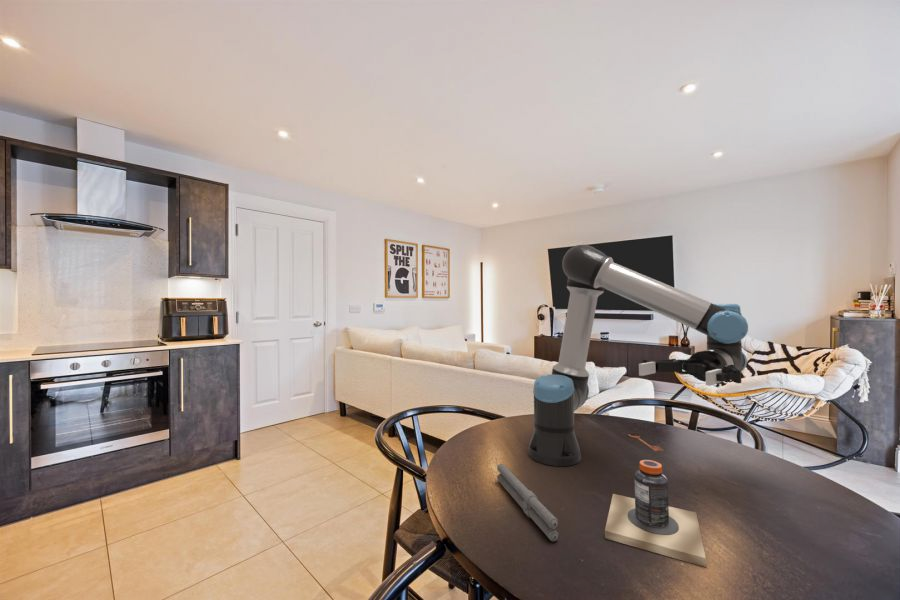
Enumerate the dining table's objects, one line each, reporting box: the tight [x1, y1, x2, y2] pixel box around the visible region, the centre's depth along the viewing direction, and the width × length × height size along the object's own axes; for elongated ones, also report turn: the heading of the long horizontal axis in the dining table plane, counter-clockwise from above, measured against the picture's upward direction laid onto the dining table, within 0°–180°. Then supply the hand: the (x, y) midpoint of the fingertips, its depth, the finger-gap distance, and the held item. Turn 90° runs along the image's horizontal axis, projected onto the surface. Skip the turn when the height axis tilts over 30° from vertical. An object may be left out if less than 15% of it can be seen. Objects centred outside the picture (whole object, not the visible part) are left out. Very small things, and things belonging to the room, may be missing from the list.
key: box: [627, 433, 664, 452], centre depth 120 cm, size 6×1×15 cm
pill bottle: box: [634, 459, 669, 527], centre depth 73 cm, size 6×6×11 cm
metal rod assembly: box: [496, 463, 559, 542], centre depth 81 cm, size 26×3×5 cm, turn 15°
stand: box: [604, 493, 707, 568], centre depth 73 cm, size 16×16×2 cm
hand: (671, 374), depth 79 cm, fingers open, 13 cm apart
